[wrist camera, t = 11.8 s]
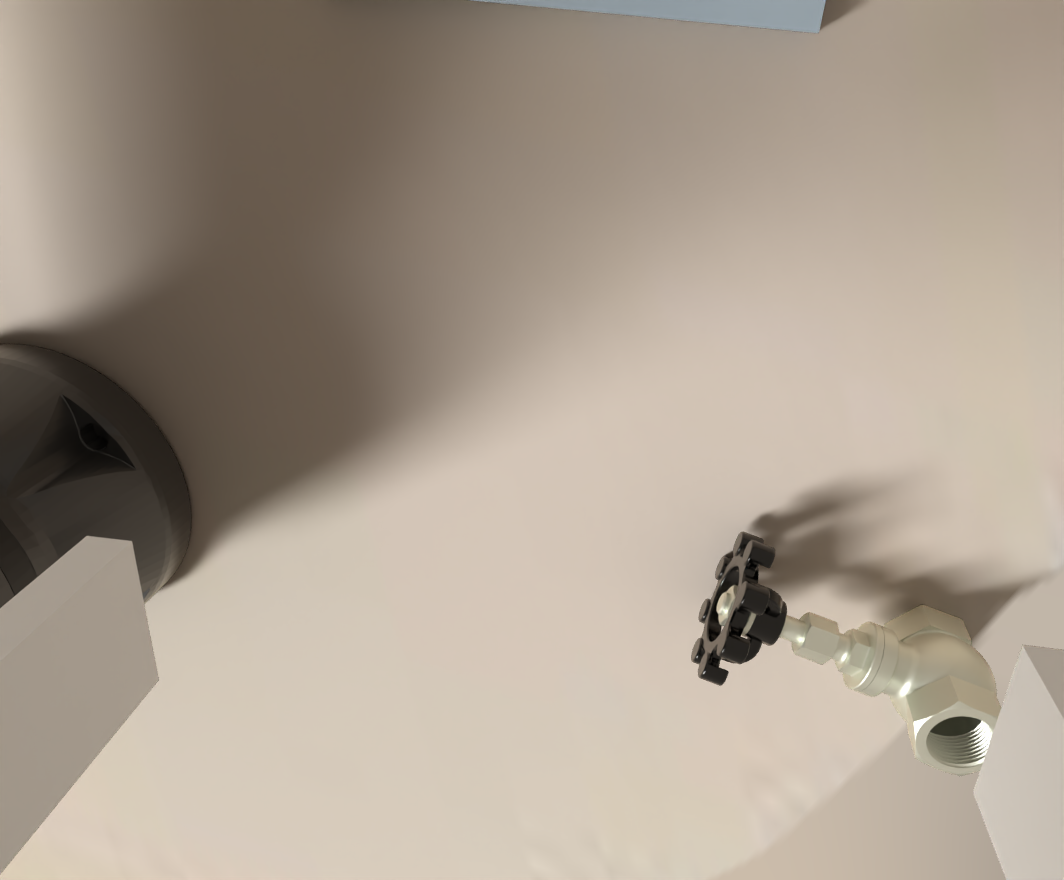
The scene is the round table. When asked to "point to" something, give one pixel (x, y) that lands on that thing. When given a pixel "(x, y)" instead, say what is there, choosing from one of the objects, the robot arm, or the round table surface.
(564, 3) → the board
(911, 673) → the valve
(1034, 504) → the round table surface
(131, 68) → the round table surface
